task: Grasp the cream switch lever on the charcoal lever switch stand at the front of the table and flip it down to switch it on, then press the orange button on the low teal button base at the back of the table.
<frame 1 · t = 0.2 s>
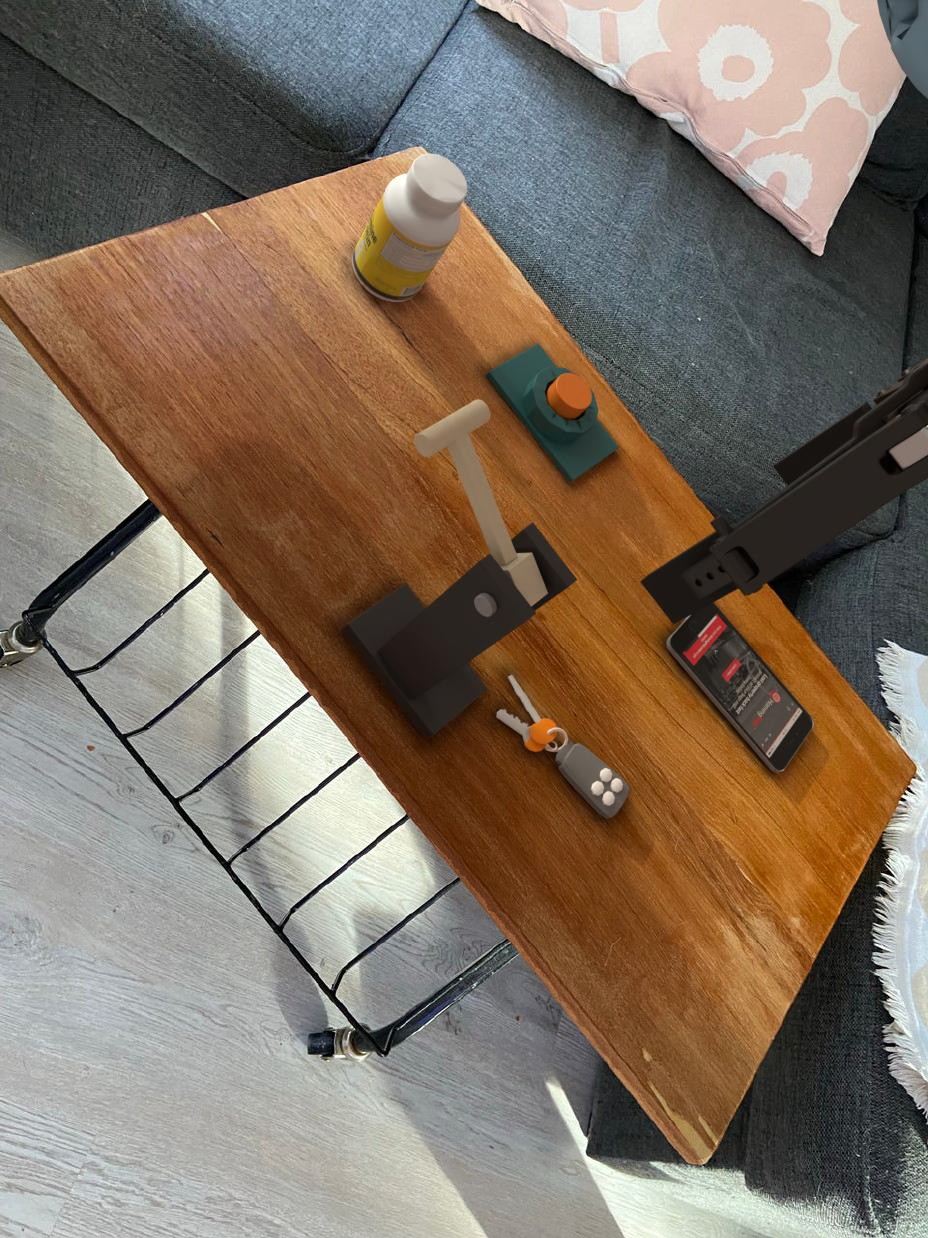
hand: (729, 536, 53), 27 cm above the table, tool pointing down, fingers open, 13 cm apart
lever switch stand: (411, 663, 72), on the table
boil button: (569, 396, 85), point 3 cm above the table, slide at 0.1 cm
teal button base: (551, 413, 88), on the table
smartphone: (736, 686, 86), on the table
switch lever: (487, 512, 58), point 18 cm above the table, hinge at 25.0°
key chain: (554, 749, 76), on the table
pill bottle: (384, 275, 85), on the table
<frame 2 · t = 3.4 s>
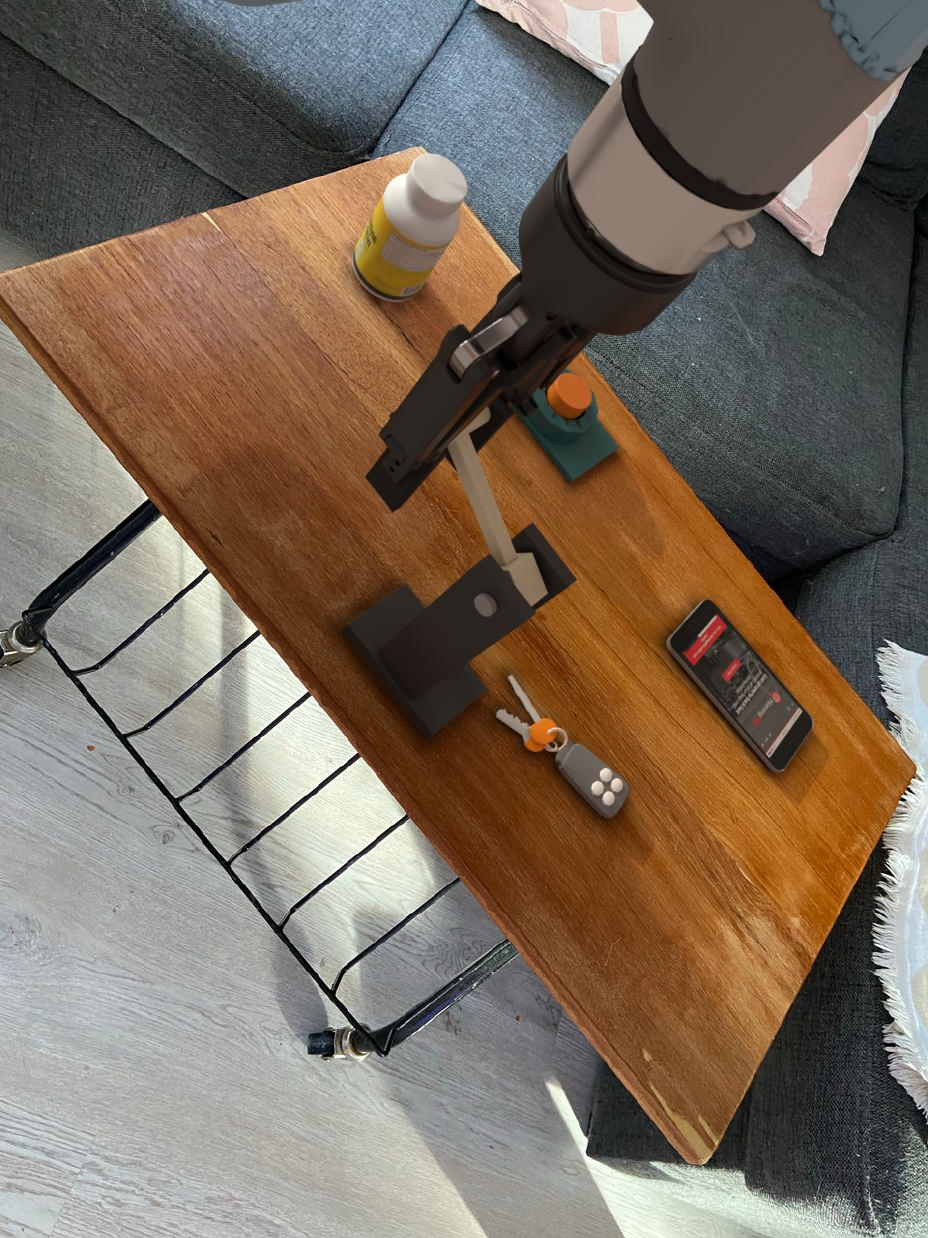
hand: (416, 471, 60), 15 cm above the table, tool pointing down, fingers closed on switch lever, 5 cm apart
switch lever: (487, 512, 58), point 18 cm above the table, hinge at 25.0°, touching gripper
everything else where it was.
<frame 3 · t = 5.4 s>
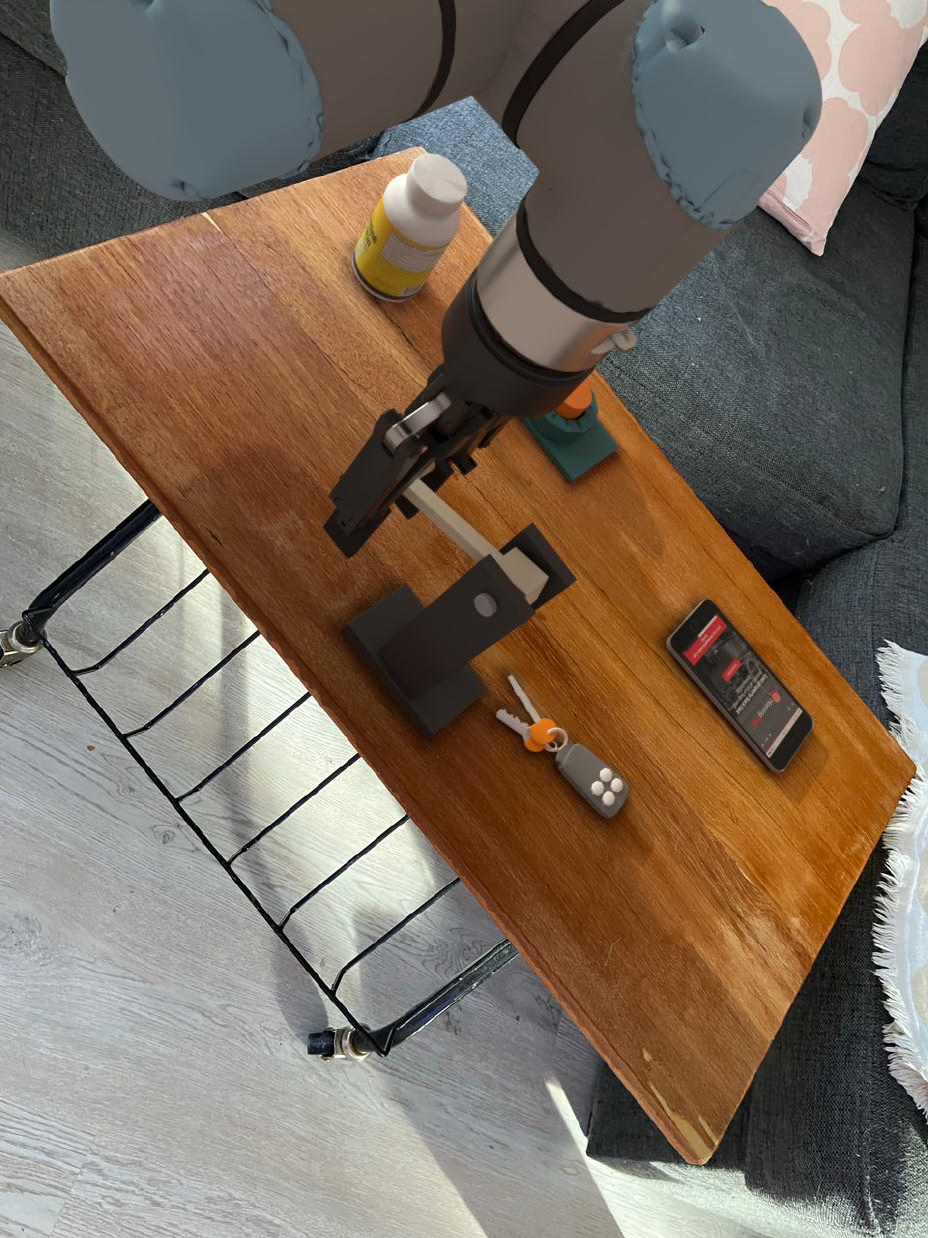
hand: (370, 520, 66), 7 cm above the table, tool pointing down, fingers closed on switch lever, 5 cm apart
switch lever: (460, 532, 60), point 15 cm above the table, hinge at -15.8°, touching gripper
everything else where it was.
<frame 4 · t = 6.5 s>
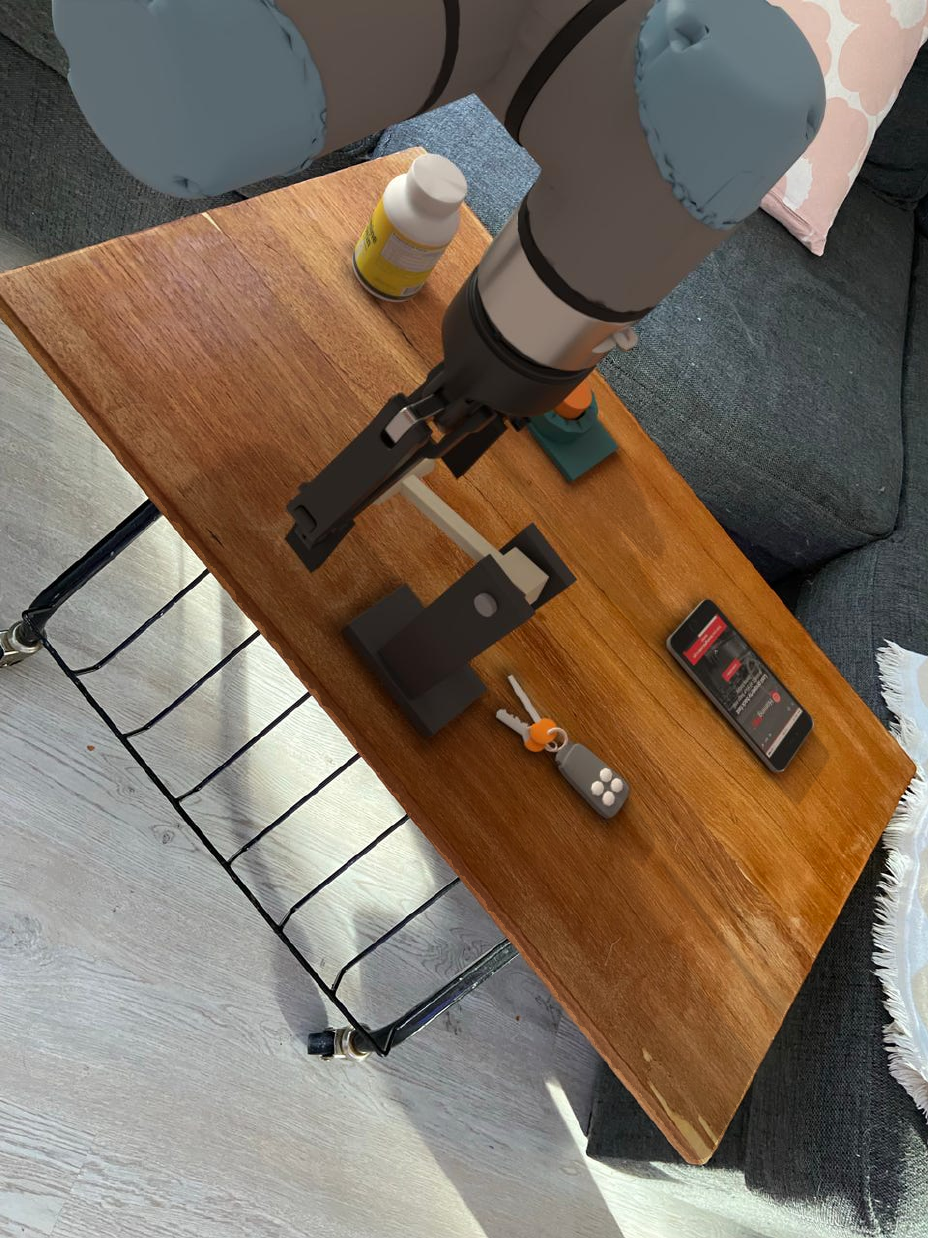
hand: (379, 505, 65), 9 cm above the table, tool pointing down, fingers open, 13 cm apart
switch lever: (460, 532, 60), point 15 cm above the table, hinge at -16.1°
everything else where it was.
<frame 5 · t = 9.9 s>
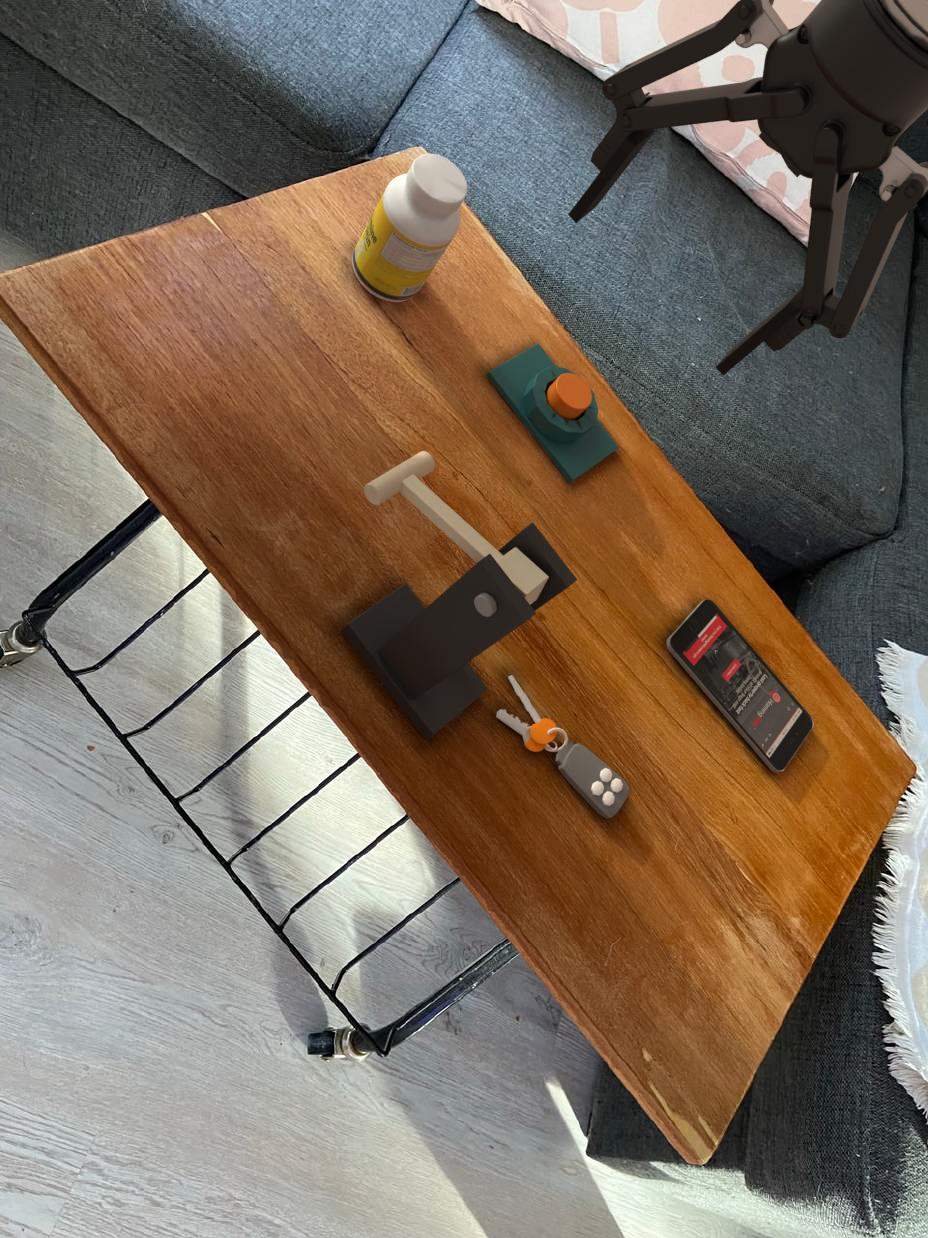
hand: (655, 286, 64), 23 cm above the table, tool pointing down, fingers open, 13 cm apart
nothing on the table moved.
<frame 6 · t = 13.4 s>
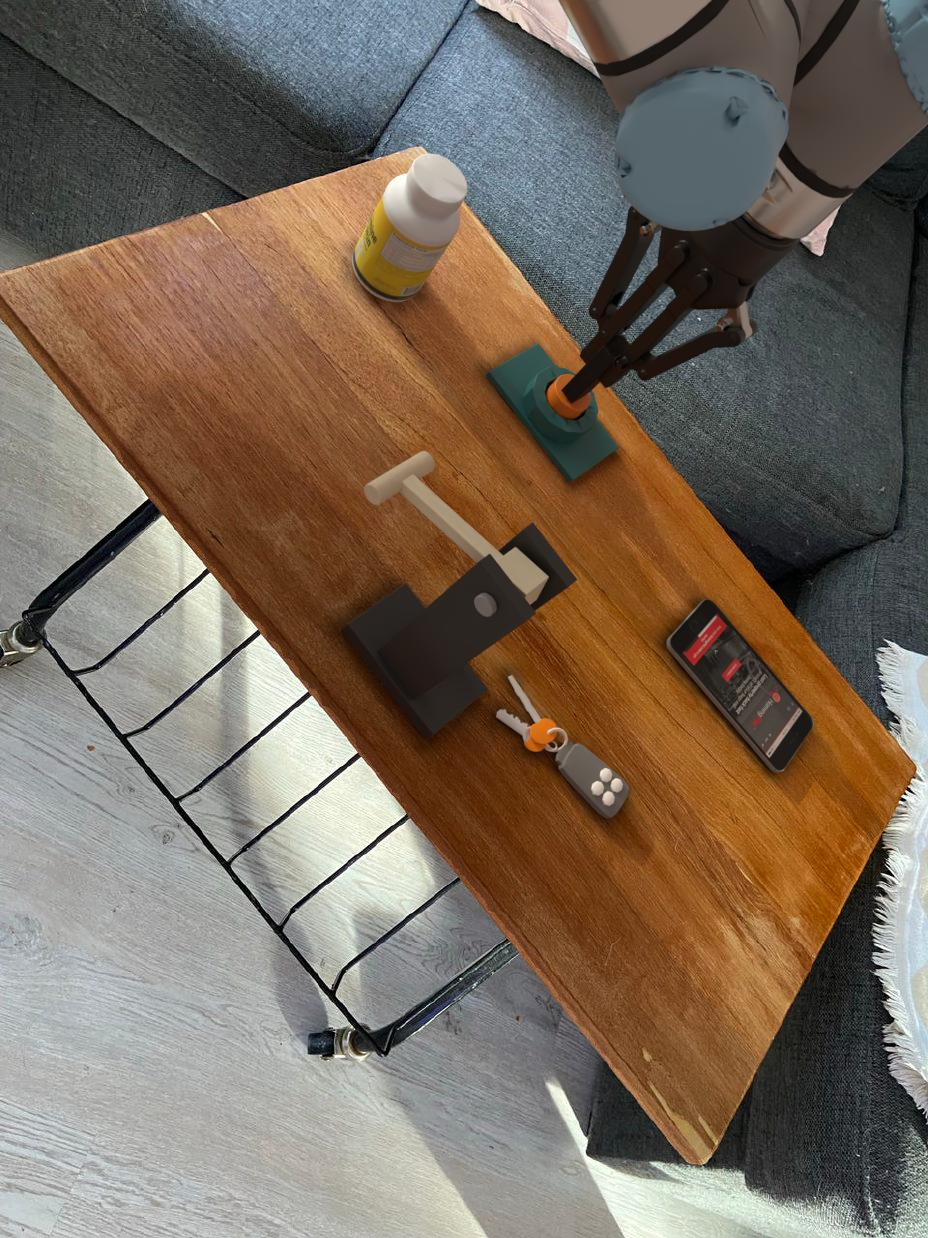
hand: (575, 390, 84), 4 cm above the table, tool pointing down, fingers closed
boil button: (568, 397, 85), point 3 cm above the table, slide at -0.1 cm, touching gripper
everything else where it was.
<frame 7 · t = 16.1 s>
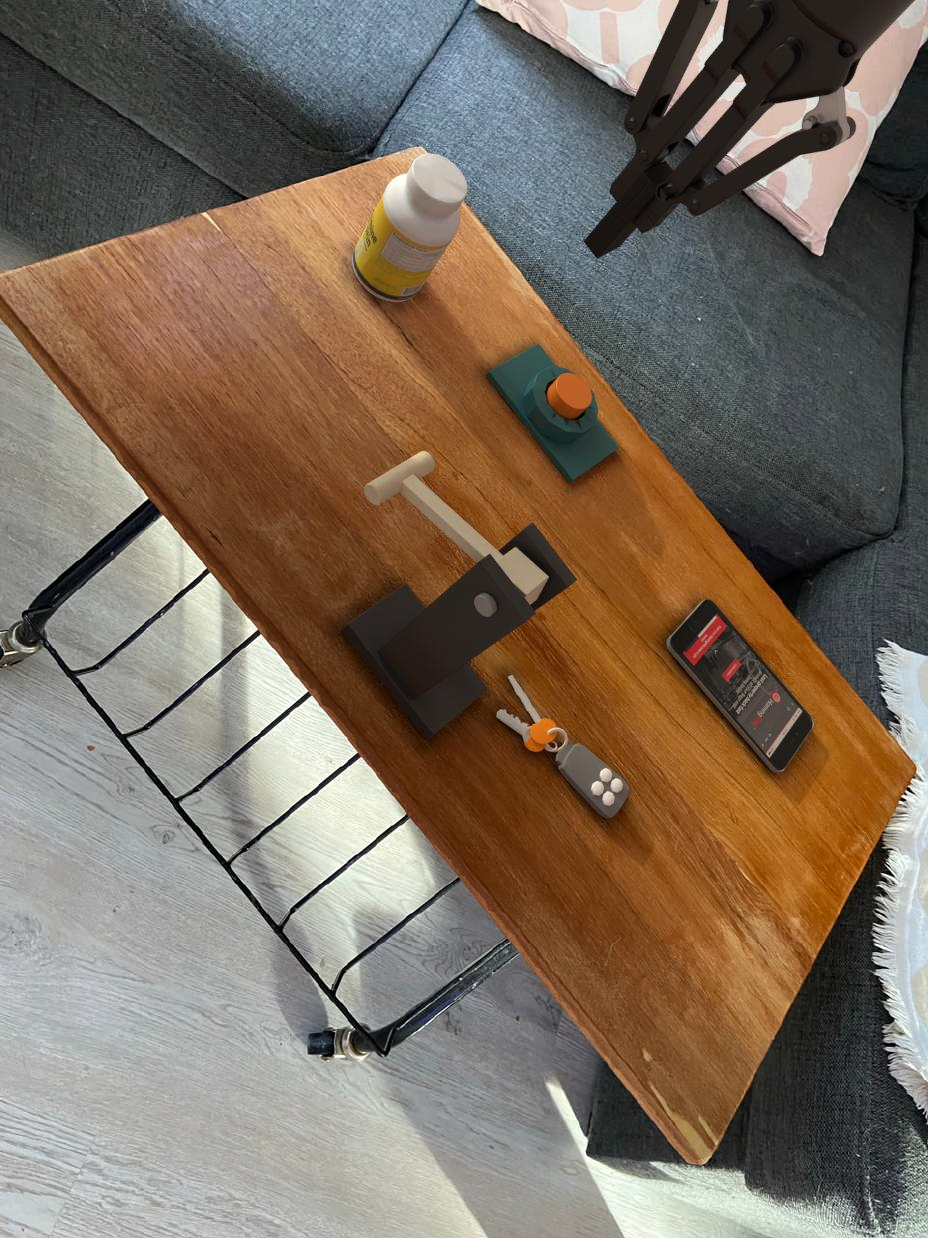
hand: (601, 243, 66), 21 cm above the table, tool pointing down, fingers closed
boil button: (569, 396, 85), point 3 cm above the table, slide at 0.1 cm
everything else where it was.
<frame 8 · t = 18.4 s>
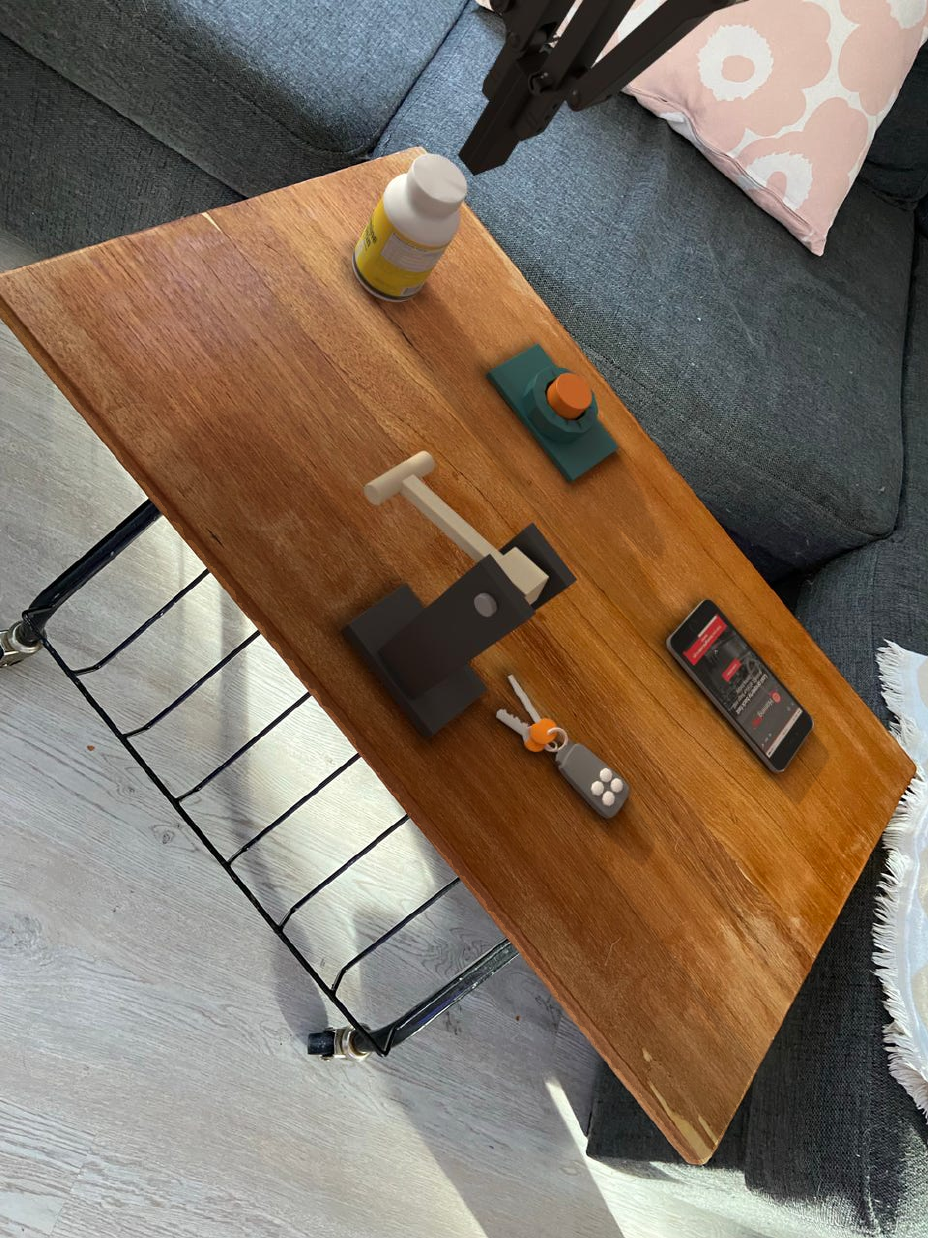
hand: (481, 159, 55), 26 cm above the table, tool pointing down, fingers closed
nothing on the table moved.
at the end: switch lever at -16° (first picture: +25°); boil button pushed in 1.0 cm at the most during the clip, back to where it started at the end; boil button slide at 0.1 cm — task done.
